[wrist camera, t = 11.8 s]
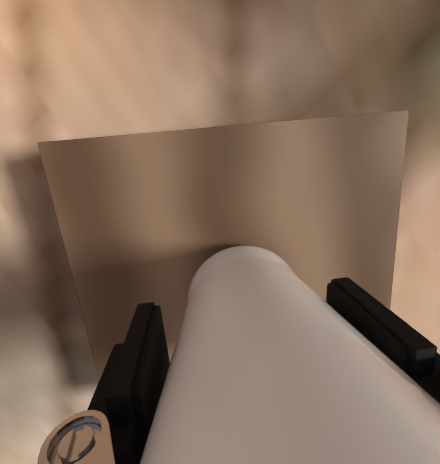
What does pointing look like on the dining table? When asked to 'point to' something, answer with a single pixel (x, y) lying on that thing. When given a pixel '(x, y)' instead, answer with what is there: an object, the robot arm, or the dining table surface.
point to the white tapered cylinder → (281, 378)
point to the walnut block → (224, 210)
